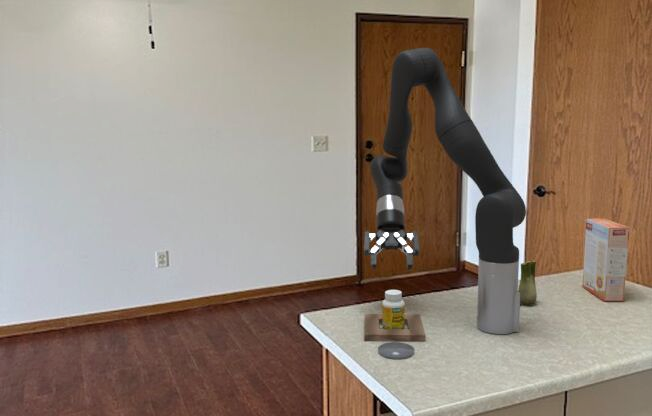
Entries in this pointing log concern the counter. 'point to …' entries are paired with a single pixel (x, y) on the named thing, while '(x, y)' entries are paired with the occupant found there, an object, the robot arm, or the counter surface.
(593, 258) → the cracker box
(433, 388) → the counter surface
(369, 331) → the pocket board
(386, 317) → the supplement bottle
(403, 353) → the coaster
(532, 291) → the fennel bulb
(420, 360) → the counter surface
